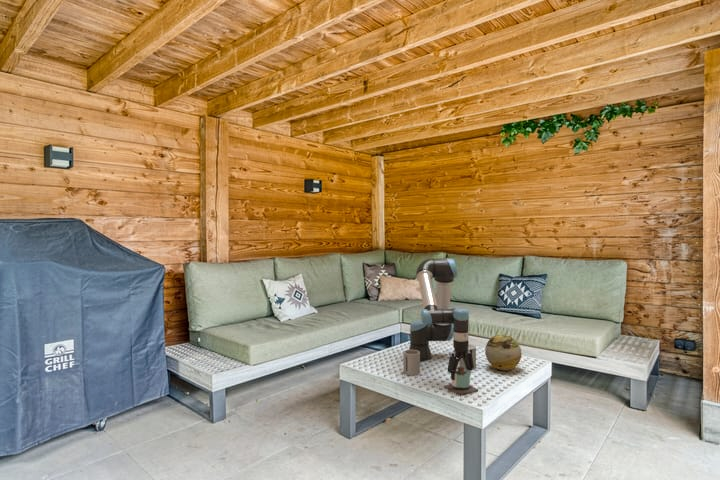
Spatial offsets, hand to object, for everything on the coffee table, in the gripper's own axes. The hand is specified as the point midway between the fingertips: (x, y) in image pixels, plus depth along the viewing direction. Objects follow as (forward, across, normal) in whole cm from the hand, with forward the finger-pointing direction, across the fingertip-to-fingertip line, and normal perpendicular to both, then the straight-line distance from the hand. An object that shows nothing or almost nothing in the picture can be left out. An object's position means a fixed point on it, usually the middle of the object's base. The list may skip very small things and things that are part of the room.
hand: (460, 384), depth 210 cm
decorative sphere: (+3, +42, +10) cm, 43 cm away
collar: (0, 0, 0) cm, 0 cm away
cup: (+3, -7, +32) cm, 33 cm away
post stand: (+3, 0, 0) cm, 3 cm away
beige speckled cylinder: (+3, +27, +23) cm, 36 cm away
